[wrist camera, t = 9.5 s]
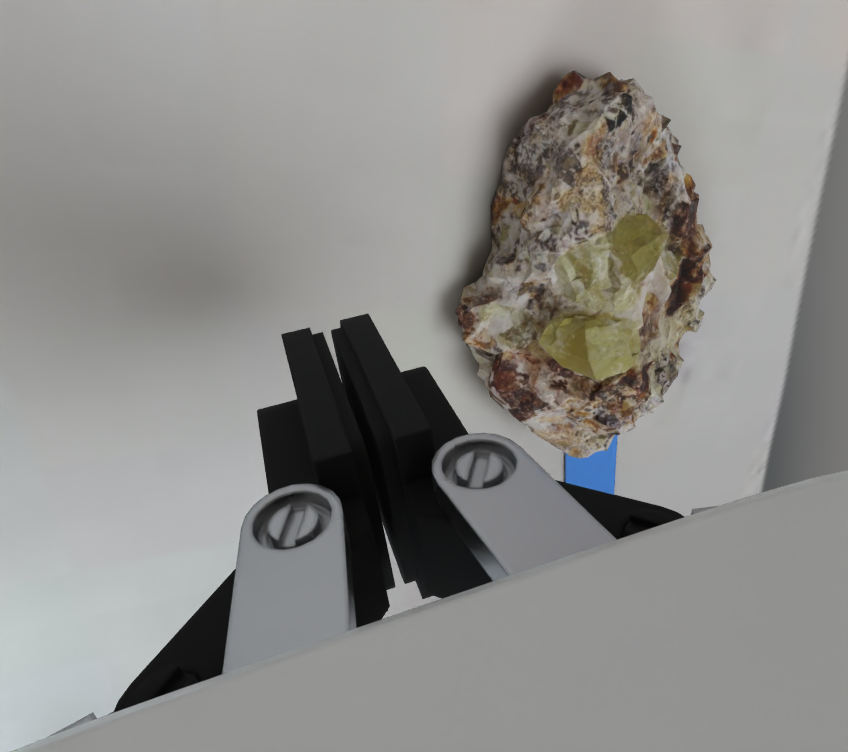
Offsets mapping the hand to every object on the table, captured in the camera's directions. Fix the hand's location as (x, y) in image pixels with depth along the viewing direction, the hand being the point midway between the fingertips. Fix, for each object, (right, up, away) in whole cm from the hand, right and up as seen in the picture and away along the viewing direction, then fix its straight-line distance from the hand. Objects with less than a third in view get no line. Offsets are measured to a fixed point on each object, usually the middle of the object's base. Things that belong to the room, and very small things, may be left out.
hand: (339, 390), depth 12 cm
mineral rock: (+6, +4, +6) cm, 10 cm away
